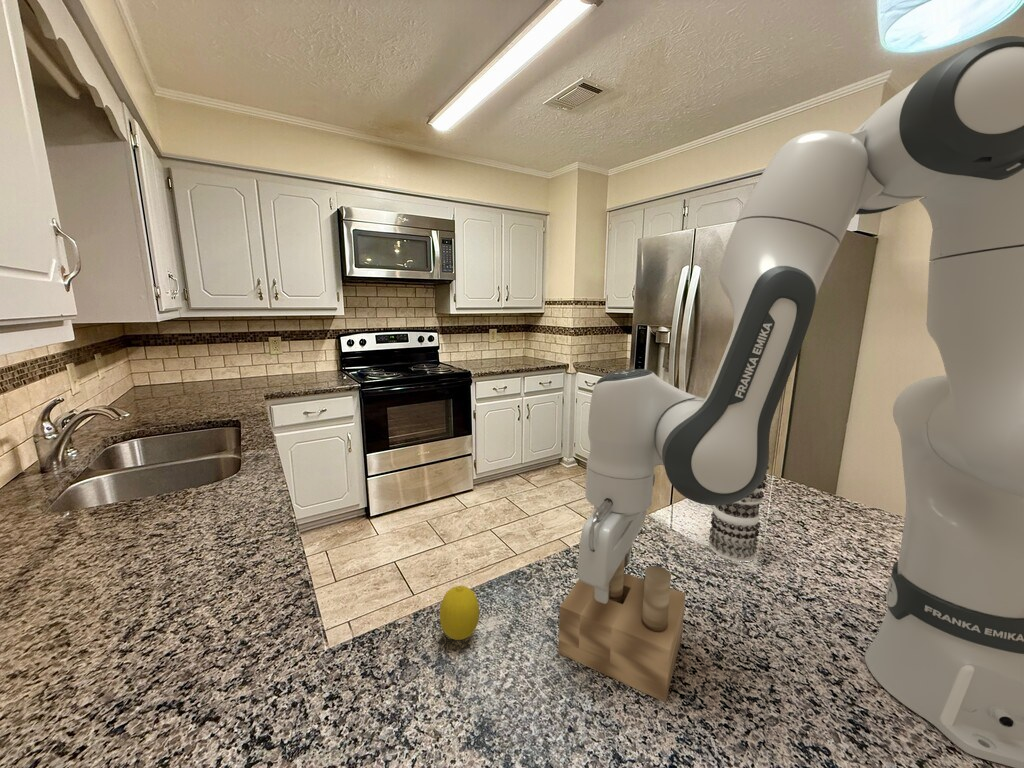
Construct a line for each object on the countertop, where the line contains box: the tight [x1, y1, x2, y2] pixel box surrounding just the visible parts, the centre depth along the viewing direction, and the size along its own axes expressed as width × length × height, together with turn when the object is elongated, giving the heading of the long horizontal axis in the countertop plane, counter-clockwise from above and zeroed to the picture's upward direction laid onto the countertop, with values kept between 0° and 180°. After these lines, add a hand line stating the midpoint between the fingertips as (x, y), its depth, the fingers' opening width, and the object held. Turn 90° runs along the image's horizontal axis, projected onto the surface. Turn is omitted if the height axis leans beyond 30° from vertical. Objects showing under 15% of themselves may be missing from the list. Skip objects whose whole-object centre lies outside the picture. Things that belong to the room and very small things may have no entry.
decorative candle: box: [708, 465, 770, 563], centre depth 80 cm, size 9×9×25 cm
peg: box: [609, 557, 625, 604], centre depth 58 cm, size 3×3×12 cm
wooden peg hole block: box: [557, 565, 686, 703], centre depth 56 cm, size 14×12×14 cm
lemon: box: [439, 585, 480, 641], centre depth 57 cm, size 6×6×8 cm
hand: (613, 580), depth 58 cm, fingers open, 8 cm apart
